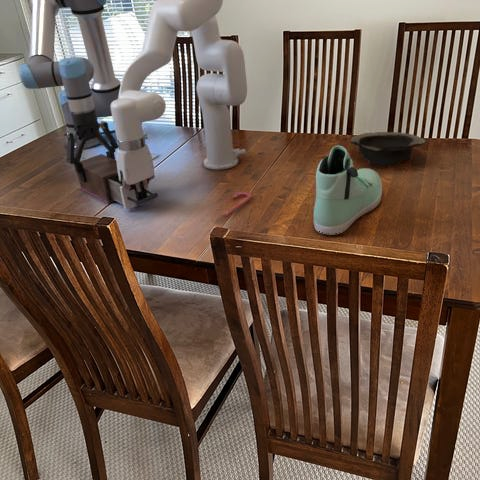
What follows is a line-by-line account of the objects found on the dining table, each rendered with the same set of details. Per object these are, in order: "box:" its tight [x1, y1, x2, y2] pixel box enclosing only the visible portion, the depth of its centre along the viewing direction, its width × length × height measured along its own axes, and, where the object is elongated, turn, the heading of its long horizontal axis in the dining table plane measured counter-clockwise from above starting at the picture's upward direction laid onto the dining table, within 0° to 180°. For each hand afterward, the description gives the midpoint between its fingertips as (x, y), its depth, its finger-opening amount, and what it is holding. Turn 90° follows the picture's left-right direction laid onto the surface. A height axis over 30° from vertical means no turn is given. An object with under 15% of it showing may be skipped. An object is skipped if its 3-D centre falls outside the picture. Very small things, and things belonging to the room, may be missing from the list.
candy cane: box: [223, 191, 253, 218], centre depth 145 cm, size 6×15×2 cm, turn 145°
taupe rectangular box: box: [76, 153, 118, 205], centre depth 159 cm, size 18×10×9 cm, turn 44°
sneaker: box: [313, 145, 383, 236], centre depth 133 cm, size 14×35×20 cm, turn 152°
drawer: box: [106, 174, 159, 211], centre depth 150 cm, size 23×9×7 cm, turn 44°
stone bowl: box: [350, 131, 426, 169], centre depth 166 cm, size 25×25×9 cm
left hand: (98, 175), depth 162 cm, fingers closed on taupe rectangular box, 10 cm apart
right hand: (142, 201), depth 146 cm, fingers closed
